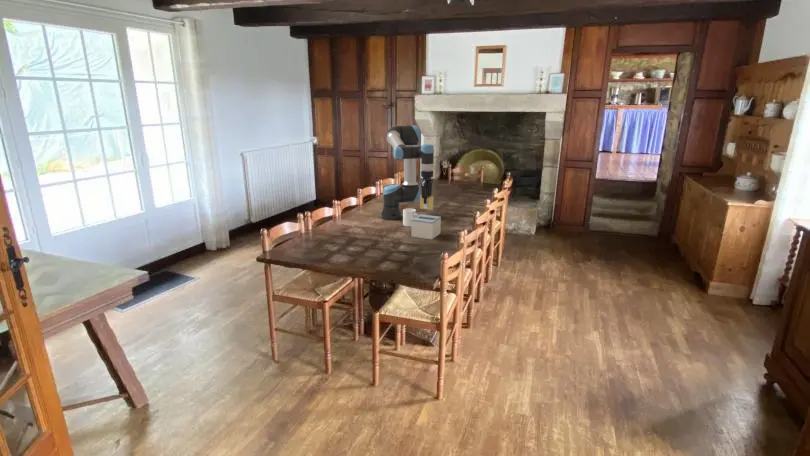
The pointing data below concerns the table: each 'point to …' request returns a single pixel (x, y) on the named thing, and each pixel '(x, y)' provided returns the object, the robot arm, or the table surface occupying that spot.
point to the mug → (408, 217)
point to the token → (430, 202)
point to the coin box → (426, 226)
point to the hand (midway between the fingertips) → (426, 208)
